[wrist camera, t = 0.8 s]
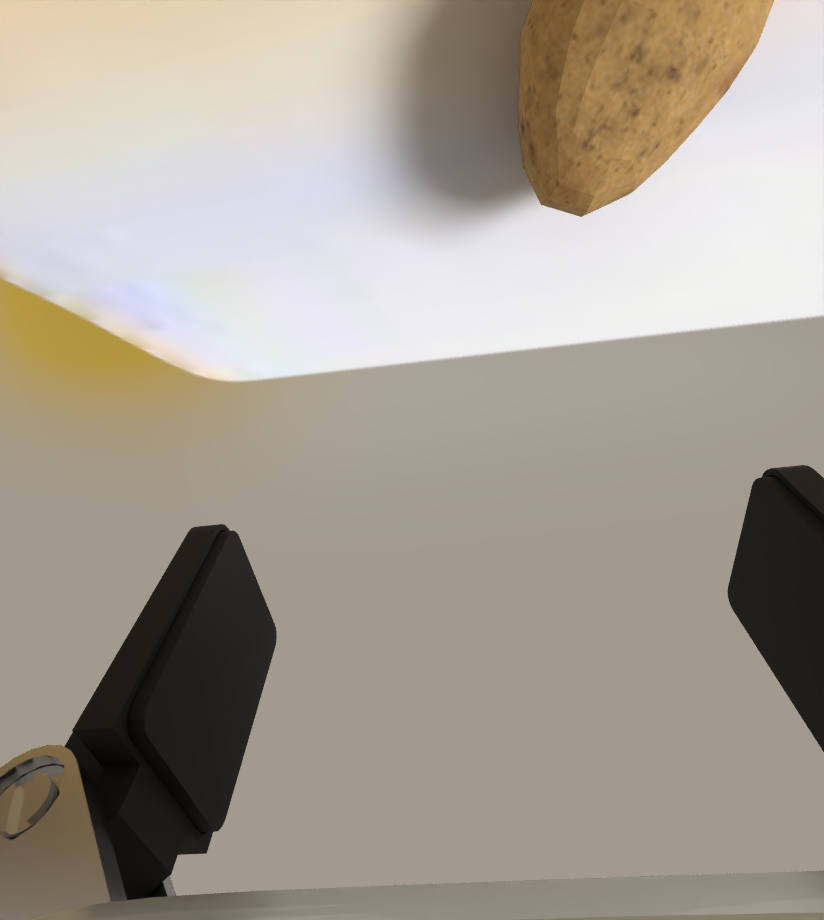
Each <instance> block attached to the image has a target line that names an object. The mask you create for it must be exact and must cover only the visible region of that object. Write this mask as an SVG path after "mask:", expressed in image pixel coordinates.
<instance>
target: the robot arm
mask: <svg viewBox="0 0 824 920" xmlns="http://www.w3.org/2000/svg"><path fill="white" fill-rule="evenodd" d="M728 598H729V602H730V605H731V607H732V609H733V611H734V612H735V614H736V615H737V617H738V618H739V620H740V622H741V623H742V625H743V626H744V628H745V629H746V631H747V633H748V634H749V636H750V637H751V639H752V640H753V642H754V644H755V645H756V647H757V648H758V650H759V651H760V653H761V655H762V656H763V658H764V659H765V661H766V662H767V664H768V666H769V667H770V668H771V670H772V672H773V673H774V675H775V676H776V678H777V679H778V681H779V682H780V684H781V686H782V687H783V689H784V691H785V692H786V694H787V695H788V697H789V698H790V700H791V701H792V703H793V704H794V706H795V708H796V709H797V711H798V712H799V714H800V716H801V717H802V719H803V720H804V722H805V723H806V725H807V727H808V728H809V730H810V731H811V732H812V734H813V736H814V737H815V739H816V741H817V742H818V744H819V745H820V747H821V748H822V750H823V752H824V478H823V477H822V476H821V475H820V474H818V473H817V472H816V471H815V470H814V469H812V468H811V467H809V466H805V465H800V466H791V467H781V468H771V469H769V470H766V471H765V472H764V473H763V476H762V478H758V479H756V480H755V481H754V483H753V485H752V489H751V493H750V497H749V502H748V506H747V510H746V514H745V518H744V523H743V527H742V531H741V535H740V539H739V544H738V548H737V553H736V556H735V561H734V565H733V569H732V573H731V577H730V582H729V586H728ZM275 645H276V627H275V624H274V622H273V619H272V617H271V614H270V612H269V609H268V607H267V604H266V602H265V599H264V597H263V595H262V592H261V590H260V587H259V585H258V582H257V580H256V577H255V575H254V573H253V570H252V567H251V565H250V562H249V560H248V558H247V555H246V553H245V550H244V548H243V545H242V543H241V540H240V538H239V536H238V534H237V533H236V532H235V531H229V529H228V528H227V527H226V526H225V525H223V524H220V525H210V526H199V527H194V528H191V530H190V531H189V532H188V534H187V535H186V537H185V539H184V541H183V542H182V544H181V546H180V547H179V549H178V551H177V552H176V554H175V556H174V558H173V559H172V561H171V563H170V564H169V566H168V568H167V569H166V571H165V573H164V575H163V576H162V578H161V580H160V581H159V583H158V585H157V587H156V588H155V590H154V592H153V593H152V595H151V597H150V598H149V600H148V602H147V604H146V605H145V607H144V609H143V611H142V612H141V614H140V616H139V617H138V619H137V621H136V622H135V624H134V626H133V628H132V629H131V631H130V633H129V634H128V636H127V638H126V639H125V641H124V643H123V645H122V646H121V648H120V650H119V652H118V653H117V655H116V657H115V658H114V660H113V662H112V664H111V665H110V667H109V669H108V670H107V672H106V674H105V675H104V677H103V679H102V680H101V682H100V684H99V686H98V687H97V689H96V691H95V692H94V694H93V696H92V698H91V699H90V701H89V703H88V704H87V706H86V708H85V710H84V711H83V713H82V715H81V716H80V718H79V720H78V722H77V723H76V725H75V727H74V728H73V730H72V731H73V733H72V735H71V736H70V738H69V740H68V742H67V743H66V745H65V747H63V746H61V745H46V746H42V747H38V748H35V749H31V750H29V751H27V752H25V753H23V754H21V755H19V756H17V757H15V758H13V759H12V760H11V761H9V762H8V763H7V764H5V765H4V766H2V767H1V768H0V920H824V871H801V872H770V873H769V872H768V873H736V874H735V873H734V874H703V875H668V876H640V877H613V878H612V877H611V878H583V879H553V880H526V881H498V882H471V883H443V884H419V885H418V884H417V885H394V886H370V887H369V886H368V887H344V888H320V889H295V890H270V891H251V892H234V893H220V894H219V893H218V894H201V895H185V896H176V893H175V890H174V887H173V884H172V881H171V878H170V875H171V873H172V870H173V867H174V864H175V861H176V858H177V855H181V854H203V853H207V850H208V847H209V843H210V840H211V837H212V833H213V832H214V831H218V830H219V829H220V828H221V827H222V825H223V823H224V821H225V818H226V815H227V812H228V808H229V805H230V801H231V798H232V794H233V791H234V787H235V784H236V780H237V776H238V774H239V770H240V767H241V763H242V760H243V756H244V753H245V749H246V746H247V742H248V739H249V735H250V732H251V728H252V725H253V722H254V718H255V714H256V711H257V708H258V704H259V701H260V697H261V694H262V690H263V687H264V683H265V680H266V677H267V673H268V670H269V666H270V663H271V659H272V656H273V652H274V649H275Z"/></svg>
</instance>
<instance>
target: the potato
mask: <svg viewBox="0 0 824 920" xmlns="http://www.w3.org/2000/svg"><path fill="white" fill-rule="evenodd" d="M773 2H774V0H533V1H532V4H531V7H530V10H529V13H528V16H527V18H526V21H525V24H524V27H523V30H522V33H521V51H520V82H519V123H518V127H519V136H520V144H521V152H522V161H523V168H524V170H525V172H526V174H527V176H528V178H529V180H530V183H531V185H532V187H533V189H534V191H535V193H536V195H537V197H538V199H539V201H540V203H541V205H544V206H547V207H551V208H554V209H557V210H561V211H564V212H567V213H570V214H574V215H577V216H580V217H582V216H584V215H586V214H588V213H591V212H593V211H595V210H597V209H599V208H601V207H603V206H605V205H607V204H610V203H612V202H614V201H616V200H618V199H620V198H622V197H624V196H626V195H629V194H630V193H631V192H633V191H634V190H635V189H636V188H638V187H639V186H640V185H641V184H642V183H643V182H644V181H645V180H646V179H647V178H649V177H650V176H651V175H652V174H653V173H654V172H655V171H656V170H657V169H658V168H660V167H661V166H662V165H663V164H664V163H665V162H666V161H667V160H668V159H669V158H670V156H671V155H672V154H673V153H674V152H675V151H676V150H677V149H678V148H679V146H680V145H681V144H682V143H683V142H684V141H685V140H686V139H687V138H688V136H689V135H690V134H691V133H692V132H693V131H694V130H695V129H696V128H697V126H698V125H699V124H700V123H701V122H702V121H703V119H704V118H705V117H706V116H707V115H708V113H709V112H710V111H711V110H712V109H713V107H714V106H715V105H716V104H717V103H718V101H719V100H720V99H721V98H722V97H723V96H724V94H725V93H726V92H727V90H728V89H729V88H730V86H731V84H732V83H733V81H734V80H735V78H736V77H737V75H738V74H739V72H740V71H741V69H742V68H743V66H744V64H745V63H746V61H747V60H748V58H749V57H750V55H751V54H752V52H753V50H754V49H755V47H756V45H757V43H758V41H759V39H760V36H761V33H762V31H763V28H764V26H765V23H766V20H767V18H768V15H769V13H770V10H771V7H772V5H773Z"/></svg>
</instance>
